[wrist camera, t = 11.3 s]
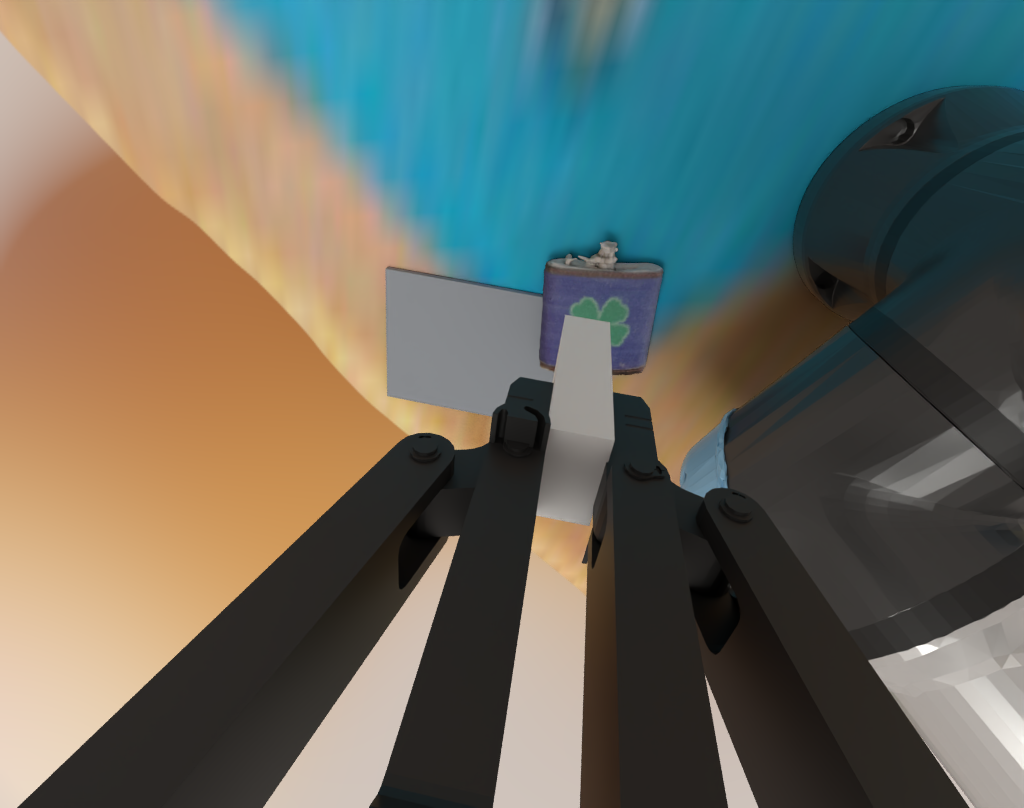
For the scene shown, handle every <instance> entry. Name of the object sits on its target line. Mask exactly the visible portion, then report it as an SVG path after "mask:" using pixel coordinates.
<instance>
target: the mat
mask: <svg viewBox="0 0 1024 808" xmlns="http://www.w3.org/2000/svg"><path fill="white" fill-rule="evenodd" d="M542 308H543V295H542V294H536V293H531V292H525V291H520V290H514V289H508V288H503V287H497V286H492V285H486V284H481V283H475V282H470V281H464V280H459V279H453V278H448V277H442V276H437V275H431V274H426V273H420V272H415V271H409V270H404V269H398V268H393V267H387V268H386V334H387V396H390V397H395V398H400V399H405V400H410V401H415V402H421V403H426V404H431V405H436V406H441V407H446V408H451V409H456V410H461V411H466V412H471V413H477V414H482V415H487V416H492V414H493V412H494V411H495V409H496V408H497V407H499V406H500V405H502V404H504V403H505V401H506V398H507V394H508V391H509V388H510V385H511V384H512V383H513V382H514V381H516V380H517V379H518V378H519V377H524V378H530V379H535V380H541V381H546V382H553V377H554V372H553V371H548V370H546V369H542V368H541V367H540V360H539V349H540V335H541V321H542Z"/></svg>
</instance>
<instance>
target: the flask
mask: <svg viewBox="0 0 1024 808" xmlns="http://www.w3.org/2000/svg"><path fill="white" fill-rule="evenodd" d="M600 244H601V247H602V248H601V249H600V251H599V252H598V254H595V255H592V256H591V258H587V257H584V256H578V257H579V258H580V259H582V260H585V261H582V260H576V259H577V258H573V259H571V258H572V255H571V254H568V255H567V256H566V258H563V259H561V258H560V259H553V260H550V261H548V262H547V263H546V265H545V269H544V286H543V308H542V321H541V335H540V349H539V360H540V367H541V368H542V369H546V370H548V371H553V372H554V371H555V366H556V361H557V356H558V350H559V345H560V340H561V335H562V330H563V324H564V319H565V315H569V316H575V317H581V318H587V319H593V320H599V321H604V322H610V336H611V361H612V375H619V374H620V375H622V374H623V375H630V374H631V375H632V374H635V373H638V374H639V373H641V372H642V371H643V369H644V367H645V366H646V360H647V355H648V348H649V343H650V338H651V332H652V327H653V321H654V317H655V311H656V307H657V301H658V295H659V290H660V286H661V281H662V274H663V268H661V267H660V266H658V265H655V264H653V263H615V262H616V260H617V258H616V257H615V254H614V253H615V251H616V252H617V251H618V248H616V246H617V243H616V242H610V241H605V242H603V243H600Z"/></svg>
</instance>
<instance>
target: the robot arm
mask: <svg viewBox="0 0 1024 808" xmlns="http://www.w3.org/2000/svg"><path fill="white" fill-rule="evenodd" d="M793 250H794V258H795V262H796V266H797V269H798V272H799V274H800V276H801V278H802V280H803V282H804V283H805V285H806V286H807V288H808V289H809V290H810V291H811V292H812V293H813V295H814V296H816V297H817V298H818V299H819V300H820V301H821V302H822V303H823V304H824V305H825V306H826V307H827V308H829V309H830V310H832V311H833V312H834V313H836V314H838V315H840V316H842V317H844V318H846V319H848V320H850V321H853V322H852V323H851V324H849V325H848V326H849V327H850V328H849V327H848V326H846V327H844V328H843V329H842V330H840V331H839V332H838V333H837V334H835V335H834V336H833V337H832V338H830V339H829V340H828V341H826V342H825V343H824V344H823V345H821V346H820V347H819V348H818V349H816V350H815V351H814V352H812V353H811V354H810V355H809V356H807V357H806V358H805V359H804V360H802V361H801V362H800V363H798V364H797V365H796V366H794V367H793V368H792V369H790V370H789V371H788V372H787V373H785V374H784V375H783V376H781V377H780V378H779V379H777V380H776V381H775V382H773V383H772V384H771V385H769V386H768V387H767V388H765V389H764V390H763V391H761V392H760V393H759V394H757V395H756V396H755V397H754V398H752V399H751V400H750V401H748V402H747V403H746V404H744V405H743V406H742V407H740V408H737V409H734V408H733V409H732V410H731V411H729V412H728V413H727V414H725V416H724V417H723V419H722V421H721V423H720V424H719V425H717V426H716V427H715V428H714V429H713V430H712V431H710V432H709V433H708V434H707V435H706V436H705V437H704V438H702V439H701V440H700V441H699V442H698V443H696V444H695V445H694V446H693V447H692V448H691V449H690V451H689V452H688V453H687V455H686V457H685V459H684V461H683V464H682V467H681V472H680V485H681V487H679V486H677V485H675V484H674V483H673V482H671V480H670V475H669V473H668V471H667V469H666V468H665V467H664V466H663V465H662V464H661V463H660V462H659V461H658V458H657V451H656V445H655V439H654V432H653V426H652V422H651V420H652V419H651V413H650V408H649V407H648V406H647V404H646V403H645V402H644V400H643V399H642V398H641V397H636V396H631V395H625V394H620V393H614V392H613V386H612V361H611V336H610V322H604V321H599V320H593V319H587V318H581V317H575V316H569V315H565V319H564V324H563V330H562V335H561V340H560V345H559V350H558V356H557V361H556V366H555V371H554V377H553V382H546V381H541V380H535V379H530V378H524V377H519V378H518V379H517V380H516V381H514V382H513V383H512V384H511V385H510V388H509V391H508V394H507V398H506V401H505V403H504V404H502V405H500V406H499V407H497V408H496V409H495V411H494V412H493V414H492V423H491V431H490V440H489V443H487V444H486V445H484V446H482V447H478V448H475V449H467V450H454V446H453V445H452V443H451V442H450V441H449V440H448V439H446V438H444V437H442V436H440V435H436V434H432V433H417V434H414V435H410V436H407V437H406V438H404V439H403V440H401V441H400V442H399V443H397V445H395V447H393V448H392V449H391V450H390V451H389V452H388V453H387V454H386V455H385V456H384V457H383V458H382V459H381V460H380V461H379V462H378V463H377V464H376V465H375V466H374V467H372V468H371V469H370V470H369V471H368V472H367V473H366V474H365V475H364V476H363V477H362V478H361V479H360V480H359V481H358V482H357V483H356V484H355V485H354V486H353V487H352V488H351V489H350V490H348V491H347V492H346V493H345V494H344V495H343V496H342V497H341V498H340V499H339V500H338V501H337V502H336V503H335V504H334V505H333V506H332V507H331V508H330V509H329V510H328V511H326V512H325V513H324V514H323V515H322V516H321V517H320V518H319V519H318V520H317V521H316V522H315V523H314V524H313V525H312V526H311V527H310V528H309V529H308V530H307V531H306V532H305V533H304V534H303V535H301V536H300V537H299V538H298V539H297V540H296V541H295V542H294V543H293V544H292V545H291V546H290V547H289V548H288V549H287V550H286V551H285V552H284V553H283V554H282V555H281V556H280V557H279V558H277V559H276V560H275V561H274V562H273V563H272V564H271V565H270V566H269V567H268V568H267V569H266V570H265V571H264V572H263V573H262V574H261V575H260V576H259V577H258V578H257V579H255V580H254V582H252V583H251V584H250V585H249V586H248V587H247V588H246V589H245V590H244V591H243V592H242V593H241V594H240V595H239V596H238V597H237V598H236V599H235V600H234V601H232V602H231V603H230V604H229V605H228V606H227V607H226V608H225V609H224V610H223V611H222V612H221V613H220V614H219V615H218V616H217V617H216V618H215V619H214V620H213V621H212V622H211V623H210V624H209V625H207V626H206V627H205V628H204V629H203V630H202V631H201V632H200V633H199V634H198V635H197V636H196V637H195V638H194V639H193V640H192V641H191V642H190V643H189V644H188V645H187V646H186V647H185V648H183V649H182V650H181V651H180V652H179V653H178V654H177V655H176V656H175V657H174V658H173V659H172V660H171V661H170V662H169V663H168V664H167V665H166V666H165V667H164V668H163V669H162V670H161V671H159V672H158V673H157V674H156V676H154V677H153V678H152V679H151V680H150V681H149V682H148V683H147V684H146V685H145V686H144V687H143V688H142V689H141V690H140V691H139V692H138V693H137V694H135V696H133V697H132V698H131V699H130V700H129V701H128V702H127V703H126V704H125V705H124V706H123V707H122V708H121V709H120V710H119V711H118V712H117V713H116V714H115V715H113V716H112V717H111V718H110V719H109V720H108V721H107V722H106V723H105V724H104V725H103V726H102V727H101V728H100V729H99V730H98V731H97V732H96V733H95V734H94V735H93V736H92V737H90V738H89V739H88V740H87V741H86V742H85V743H84V744H83V745H82V746H81V747H80V748H79V749H78V750H77V751H76V752H75V753H74V754H73V755H72V756H71V757H70V758H69V759H68V760H67V761H65V763H63V764H62V765H61V766H60V767H59V768H58V769H57V770H56V771H55V772H54V773H53V774H52V775H51V776H50V777H49V778H48V779H47V780H46V781H45V782H43V783H42V785H40V787H38V788H37V789H36V790H35V791H34V792H33V793H32V794H31V795H30V796H29V797H28V798H27V799H26V800H25V801H24V802H23V803H22V804H21V805H20V806H18V807H17V808H263V807H264V805H265V804H266V802H267V801H268V799H269V798H270V796H271V795H272V794H273V792H274V791H275V789H276V788H277V786H278V785H279V783H280V782H281V781H282V779H283V778H284V776H285V775H286V773H287V772H288V770H289V769H290V767H291V766H292V765H293V763H294V762H295V760H296V759H297V757H298V756H299V755H300V753H301V752H302V750H303V749H304V747H305V746H306V744H307V743H308V742H309V740H310V739H311V737H312V736H313V734H314V733H315V731H316V730H317V728H318V727H319V726H320V724H321V722H322V721H323V720H324V718H325V717H326V715H327V714H328V713H329V711H330V710H331V708H332V707H333V705H334V704H335V702H336V701H337V699H338V698H339V697H340V695H341V694H342V692H343V691H344V689H345V688H346V686H347V685H348V684H349V682H350V681H351V679H352V678H353V676H354V675H355V674H356V672H357V671H358V669H359V668H360V666H361V665H362V663H363V662H364V660H365V659H366V658H367V656H368V655H369V653H370V652H371V650H372V649H373V647H374V646H375V645H376V643H377V642H378V640H379V639H380V637H381V636H382V634H383V633H384V632H385V630H386V629H387V627H388V626H389V624H390V623H391V621H392V620H393V618H394V617H395V616H396V614H397V613H398V611H399V610H400V608H401V607H402V606H403V604H404V603H405V601H406V600H407V598H408V596H409V595H410V594H411V592H412V591H413V590H414V588H415V587H416V585H417V584H418V582H419V581H420V579H421V578H422V577H423V575H424V574H425V572H426V571H427V569H428V568H429V566H430V565H431V563H432V562H433V561H434V559H435V558H436V556H437V555H438V553H439V552H440V550H441V549H442V548H443V546H444V544H445V543H446V541H447V539H448V537H449V536H459V535H460V537H459V540H458V543H457V547H456V550H455V553H454V556H453V559H452V563H451V566H450V569H449V572H448V575H447V579H446V582H445V585H444V589H443V592H442V595H441V598H440V601H439V604H438V607H437V611H436V614H435V617H434V620H433V623H432V627H431V630H430V633H429V636H428V639H427V643H426V646H425V649H424V652H423V655H422V658H421V662H420V665H419V668H418V671H417V674H416V678H415V681H414V684H413V687H412V690H411V694H410V697H409V700H408V704H407V706H406V710H405V713H404V716H403V719H402V722H401V726H400V729H399V732H398V735H397V738H396V742H395V745H394V748H393V751H392V754H391V757H390V761H389V764H388V767H387V770H386V773H385V776H384V779H383V782H382V785H381V787H380V790H379V792H378V794H377V796H376V798H375V799H374V800H373V802H372V803H371V805H370V806H369V808H493V802H494V795H495V788H496V782H497V774H498V768H499V761H500V755H501V748H502V741H503V734H504V728H505V721H506V714H507V707H508V701H509V694H510V687H511V681H512V674H513V667H514V660H515V653H516V647H517V640H518V634H519V627H520V620H521V613H522V607H523V599H524V593H525V586H526V580H527V573H528V566H529V559H530V553H531V546H532V539H533V533H534V526H535V519H536V515H537V516H542V517H547V518H552V519H557V520H562V521H567V522H572V523H577V524H582V525H587V526H589V525H590V522H591V518H592V515H593V528H592V532H591V535H590V538H589V541H588V545H587V548H586V551H585V555H584V558H583V561H582V563H585V564H587V561H588V566H587V598H586V632H585V664H584V695H583V696H584V697H583V727H582V759H581V763H582V764H581V792H580V808H728V804H727V799H726V793H725V787H724V782H723V776H722V770H721V765H720V759H719V753H718V748H717V742H716V736H715V731H714V725H713V719H712V713H711V708H710V702H709V696H708V691H707V685H706V680H705V676H706V678H707V680H708V683H709V685H710V688H711V690H712V693H713V695H714V698H715V700H716V703H717V705H718V708H719V710H720V713H721V715H722V718H723V720H724V723H725V725H726V728H727V730H728V733H729V735H730V737H731V740H732V743H733V745H734V748H735V750H736V753H737V755H738V757H739V760H740V763H741V765H742V767H743V770H744V773H745V775H746V778H747V780H748V782H749V785H750V787H751V790H752V792H753V795H754V797H755V800H756V802H757V805H758V807H759V808H969V806H968V805H967V803H966V802H965V801H964V799H963V798H962V796H961V795H960V793H959V792H958V790H957V789H956V787H955V786H954V784H953V783H952V782H951V780H950V779H949V777H948V776H947V774H946V773H945V772H944V770H943V769H942V767H941V766H940V764H939V763H938V761H937V760H936V758H935V757H934V756H933V754H932V753H931V751H932V752H933V753H934V755H935V756H936V757H937V759H938V760H939V761H940V762H941V764H942V765H943V766H944V768H945V769H946V770H947V772H948V773H949V774H950V775H951V777H952V778H953V779H954V781H955V782H956V783H957V785H958V786H959V787H960V788H961V790H962V791H963V792H964V794H965V795H966V796H967V797H968V799H969V800H970V801H971V803H972V804H973V805H974V807H975V808H1024V91H1021V90H1017V89H1013V88H1008V87H1001V86H956V87H948V88H942V89H937V90H933V91H929V92H926V93H922V94H919V95H917V96H914V97H911V98H909V99H906V100H904V101H902V102H899V103H897V104H895V105H893V106H891V107H890V108H888V109H886V110H884V111H882V112H881V113H879V114H878V115H876V116H874V117H873V118H871V119H870V120H868V121H867V122H866V123H864V124H863V125H862V126H860V127H859V128H858V129H857V130H855V131H854V132H853V133H852V134H851V135H850V136H848V137H847V138H846V139H845V140H844V141H843V142H842V143H841V144H840V145H839V146H838V147H837V148H836V149H835V150H834V151H833V153H832V154H831V155H830V156H829V157H828V158H827V160H826V161H825V162H824V163H823V165H822V166H821V168H820V169H819V170H818V172H817V173H816V175H815V176H814V178H813V180H812V181H811V183H810V185H809V187H808V189H807V191H806V193H805V195H804V197H803V199H802V202H801V204H800V207H799V210H798V213H797V217H796V221H795V227H794V235H793ZM704 673H705V674H704ZM920 736H921V737H920ZM923 740H924V741H923ZM925 743H926V744H927V745H928V746H929V748H930V749H931V751H930V750H929V748H928V747H927V745H926V744H925Z"/></svg>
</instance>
